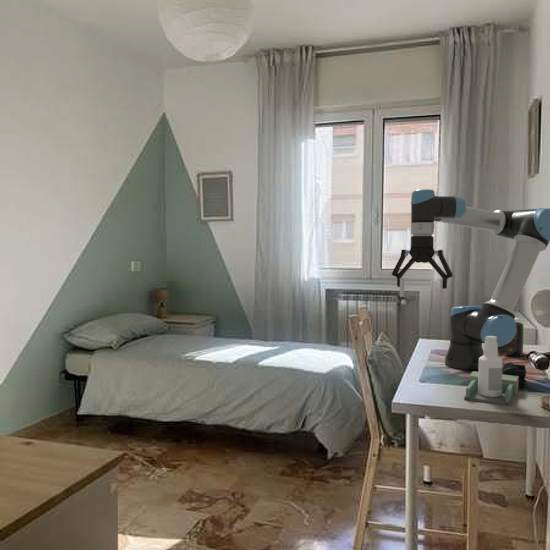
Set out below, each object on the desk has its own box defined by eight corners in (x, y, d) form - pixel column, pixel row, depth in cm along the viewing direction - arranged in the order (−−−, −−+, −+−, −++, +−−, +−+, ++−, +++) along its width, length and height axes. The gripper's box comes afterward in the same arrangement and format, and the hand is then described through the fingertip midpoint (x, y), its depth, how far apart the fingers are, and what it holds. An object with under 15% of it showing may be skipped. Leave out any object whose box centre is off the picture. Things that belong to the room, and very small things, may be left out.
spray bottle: (500, 398, 164) (501, 339, 163) (476, 395, 167) (477, 337, 166) (503, 393, 170) (504, 335, 169) (479, 390, 173) (481, 334, 172)
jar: (524, 356, 227) (525, 320, 226) (494, 354, 231) (495, 319, 230) (521, 351, 238) (522, 316, 237) (492, 349, 242) (493, 315, 241)
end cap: (502, 380, 189) (502, 361, 188) (524, 382, 186) (525, 362, 186) (501, 387, 180) (502, 367, 179) (525, 390, 177) (526, 369, 176)
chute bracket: (472, 384, 183) (473, 371, 183) (518, 389, 177) (518, 376, 176) (462, 399, 166) (462, 384, 166) (512, 405, 160) (512, 390, 159)
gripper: (383, 235, 189) (382, 296, 191) (458, 235, 177) (457, 300, 179) (389, 235, 196) (389, 294, 197) (462, 235, 184) (461, 298, 185)
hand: (421, 297), depth 188 cm, fingers open, 13 cm apart
